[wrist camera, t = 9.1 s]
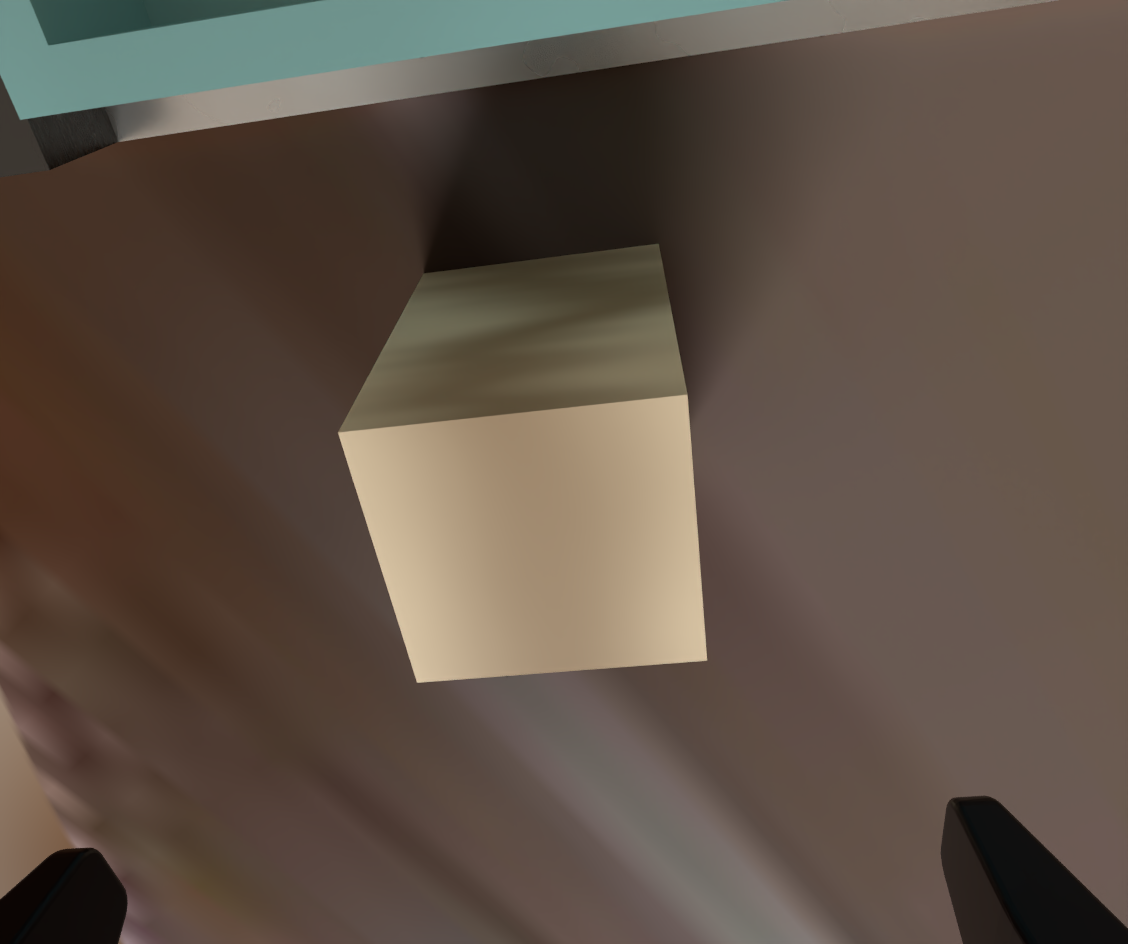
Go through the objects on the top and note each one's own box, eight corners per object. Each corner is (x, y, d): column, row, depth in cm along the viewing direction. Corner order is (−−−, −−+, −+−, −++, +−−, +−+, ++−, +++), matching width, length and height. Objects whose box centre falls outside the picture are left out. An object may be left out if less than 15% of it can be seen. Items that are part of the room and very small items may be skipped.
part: (658, 243, 18) (687, 394, 12) (676, 450, 20) (707, 660, 14) (423, 273, 18) (337, 432, 12) (470, 471, 21) (417, 682, 15)
